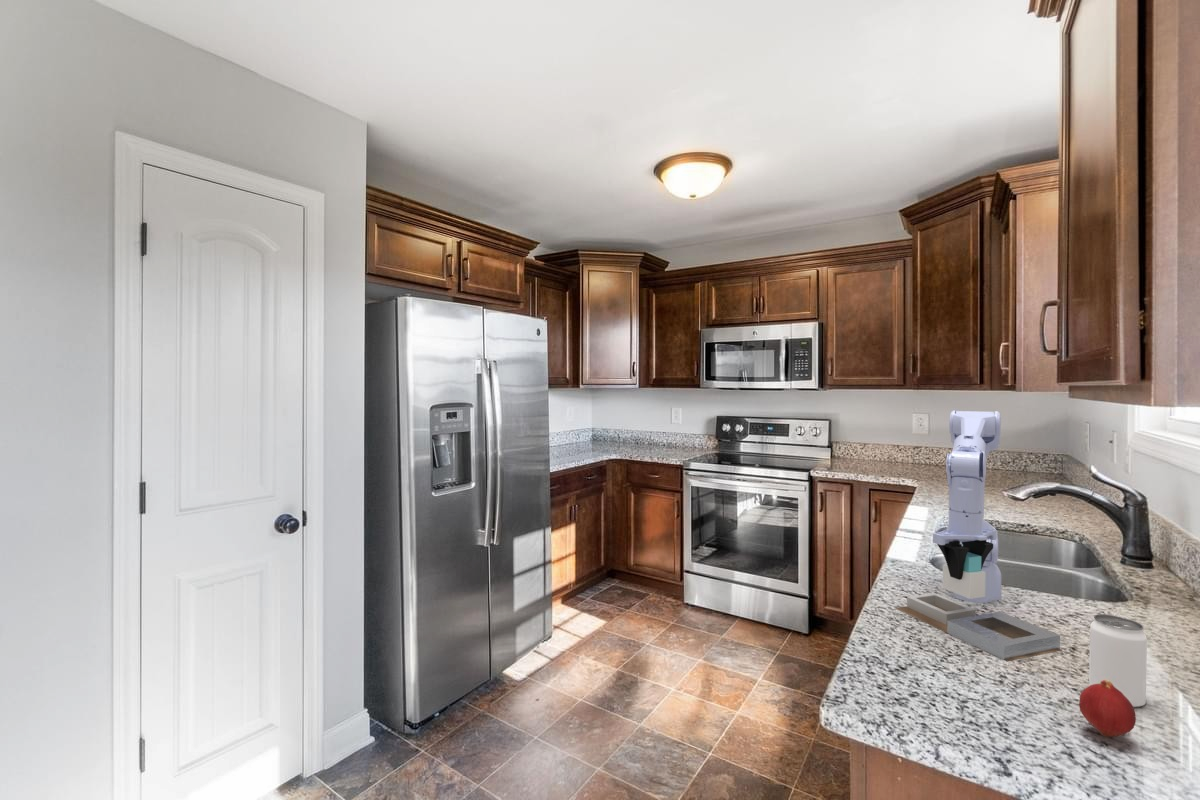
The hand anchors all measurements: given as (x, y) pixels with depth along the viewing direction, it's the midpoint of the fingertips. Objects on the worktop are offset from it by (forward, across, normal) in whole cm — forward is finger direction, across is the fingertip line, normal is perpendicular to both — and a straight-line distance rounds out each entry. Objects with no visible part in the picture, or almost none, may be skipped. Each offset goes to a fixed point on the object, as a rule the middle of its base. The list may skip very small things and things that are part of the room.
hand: (964, 576), depth 109 cm
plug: (+3, 0, 0) cm, 3 cm away
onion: (+11, -12, -32) cm, 36 cm away
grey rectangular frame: (+10, 0, +6) cm, 12 cm away
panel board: (+10, 0, -2) cm, 11 cm away
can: (+11, 0, -26) cm, 28 cm away
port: (+10, 0, -8) cm, 13 cm away
